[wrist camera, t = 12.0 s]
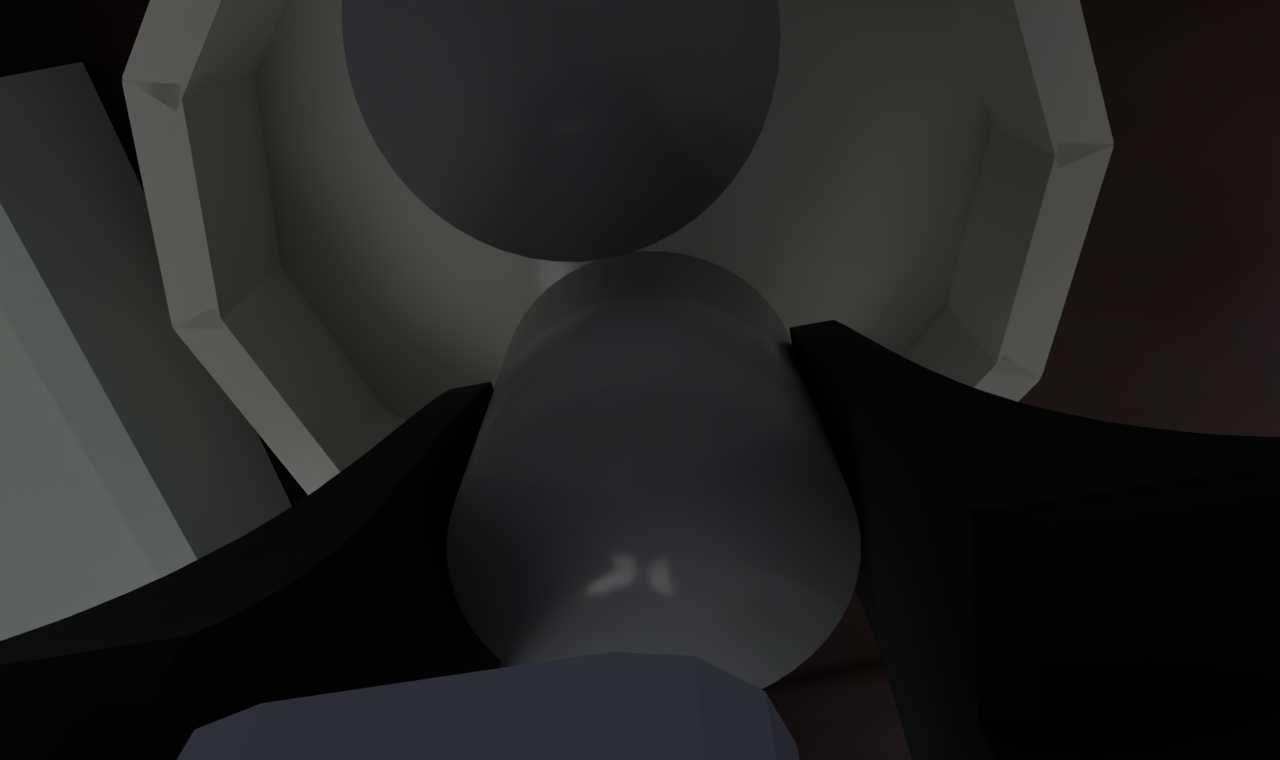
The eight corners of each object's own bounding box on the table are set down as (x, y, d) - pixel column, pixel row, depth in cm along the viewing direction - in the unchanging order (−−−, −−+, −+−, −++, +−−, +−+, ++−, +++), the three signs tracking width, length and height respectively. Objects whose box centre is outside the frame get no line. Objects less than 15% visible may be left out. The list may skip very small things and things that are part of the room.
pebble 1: (802, -19, 12) (872, -9, 8) (626, 231, 13) (621, 331, 10) (533, -236, 11) (480, -333, 7) (378, 66, 12) (270, 111, 9)
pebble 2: (860, 360, 12) (949, 526, 9) (682, 556, 14) (695, 764, 10) (611, 187, 11) (596, 298, 8) (448, 423, 13) (372, 605, 9)
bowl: (1173, 75, 13) (1309, 106, 10) (708, 590, 18) (720, 703, 15) (470, -532, 10) (408, -710, 7) (133, 284, 15) (20, 356, 12)
